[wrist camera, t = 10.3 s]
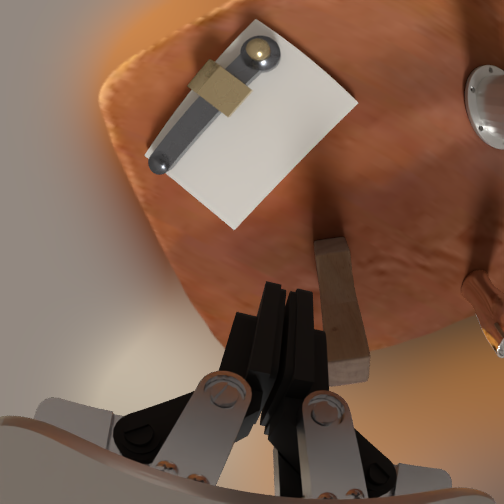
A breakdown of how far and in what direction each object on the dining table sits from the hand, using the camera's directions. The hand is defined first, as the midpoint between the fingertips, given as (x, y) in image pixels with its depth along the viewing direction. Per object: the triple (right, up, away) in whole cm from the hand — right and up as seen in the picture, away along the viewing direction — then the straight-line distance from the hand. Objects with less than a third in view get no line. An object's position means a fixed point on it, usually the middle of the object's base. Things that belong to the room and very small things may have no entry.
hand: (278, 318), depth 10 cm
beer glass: (+37, -3, +29) cm, 47 cm away
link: (-6, +20, +21) cm, 30 cm away
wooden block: (+11, +1, +31) cm, 33 cm away
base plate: (-2, +18, +23) cm, 30 cm away
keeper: (-2, +23, +19) cm, 30 cm away
